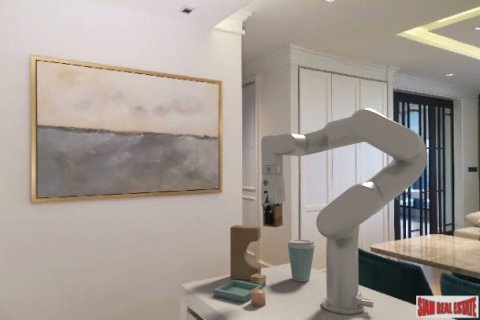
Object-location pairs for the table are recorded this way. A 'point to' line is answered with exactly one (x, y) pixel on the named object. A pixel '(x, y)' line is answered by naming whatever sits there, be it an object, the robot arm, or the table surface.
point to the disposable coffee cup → (301, 258)
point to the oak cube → (258, 279)
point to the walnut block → (275, 216)
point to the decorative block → (243, 251)
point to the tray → (236, 291)
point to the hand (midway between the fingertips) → (273, 222)
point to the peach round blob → (258, 297)
